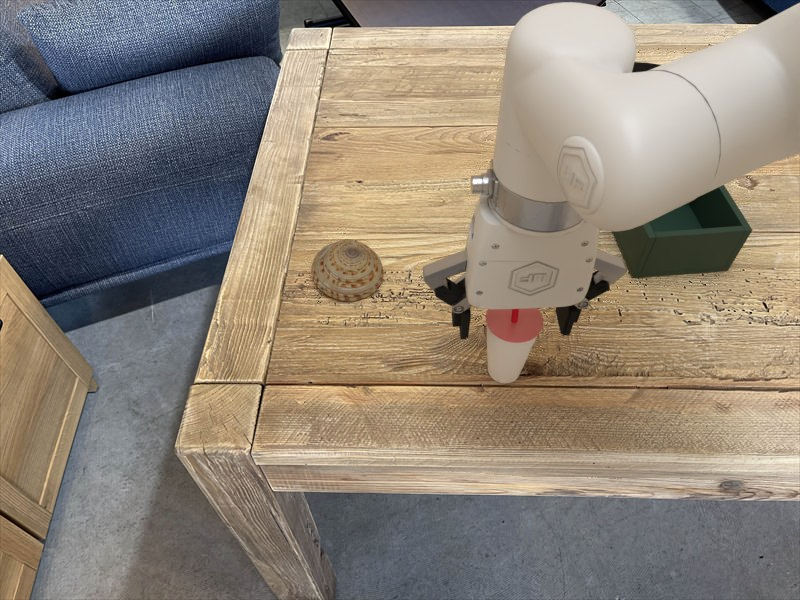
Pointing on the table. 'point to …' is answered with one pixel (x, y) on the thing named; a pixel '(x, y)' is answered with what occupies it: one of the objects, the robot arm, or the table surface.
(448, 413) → the table surface
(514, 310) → the cup
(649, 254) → the bin
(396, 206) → the table surface
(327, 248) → the seashell
